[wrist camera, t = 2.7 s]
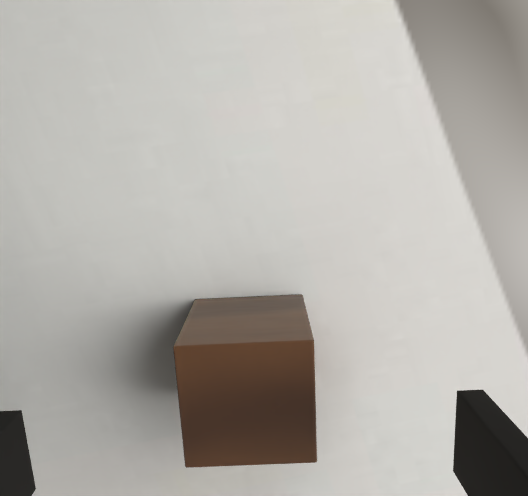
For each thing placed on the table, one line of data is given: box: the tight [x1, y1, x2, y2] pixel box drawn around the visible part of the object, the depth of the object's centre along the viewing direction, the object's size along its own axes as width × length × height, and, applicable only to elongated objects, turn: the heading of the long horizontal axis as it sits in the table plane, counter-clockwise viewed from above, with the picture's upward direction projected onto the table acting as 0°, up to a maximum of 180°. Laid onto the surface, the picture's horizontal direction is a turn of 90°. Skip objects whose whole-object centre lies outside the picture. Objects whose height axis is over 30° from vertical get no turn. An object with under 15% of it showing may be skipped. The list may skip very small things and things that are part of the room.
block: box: [173, 295, 317, 467], centre depth 17 cm, size 4×4×4 cm
